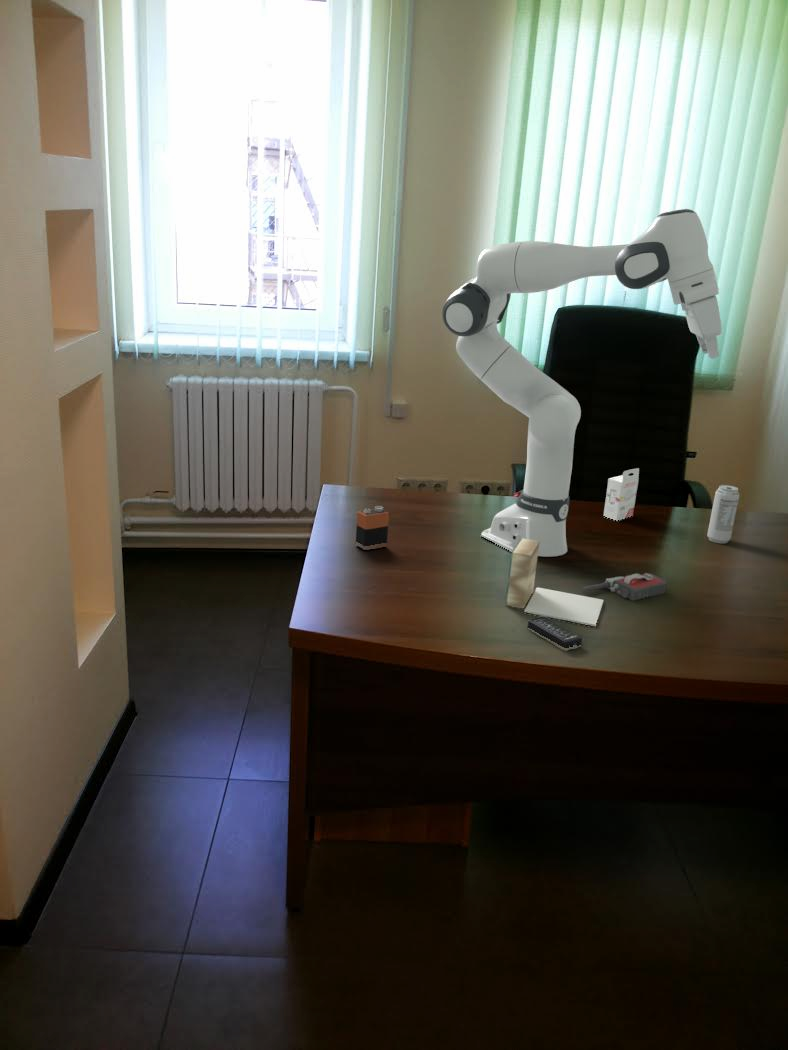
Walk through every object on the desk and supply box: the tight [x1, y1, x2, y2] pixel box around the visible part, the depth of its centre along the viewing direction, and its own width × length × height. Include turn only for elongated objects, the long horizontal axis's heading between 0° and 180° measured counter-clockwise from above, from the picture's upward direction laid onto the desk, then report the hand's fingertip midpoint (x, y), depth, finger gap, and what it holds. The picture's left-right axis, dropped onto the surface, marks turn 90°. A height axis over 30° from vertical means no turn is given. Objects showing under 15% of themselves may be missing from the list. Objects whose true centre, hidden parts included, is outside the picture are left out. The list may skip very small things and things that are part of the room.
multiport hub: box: [527, 616, 583, 648], centre depth 161 cm, size 4×11×2 cm, turn 33°
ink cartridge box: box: [603, 467, 640, 522], centre depth 238 cm, size 9×5×15 cm, turn 132°
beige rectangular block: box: [504, 538, 540, 609], centre depth 176 cm, size 4×10×12 cm, turn 160°
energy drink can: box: [706, 484, 740, 544], centre depth 223 cm, size 6×6×15 cm
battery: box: [355, 505, 390, 546], centre depth 201 cm, size 4×7×10 cm, turn 126°
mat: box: [523, 586, 604, 628], centre depth 175 cm, size 14×14×1 cm
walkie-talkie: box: [582, 572, 668, 601], centre depth 185 cm, size 9×4×20 cm
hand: (710, 355), depth 171 cm, fingers open, 8 cm apart
